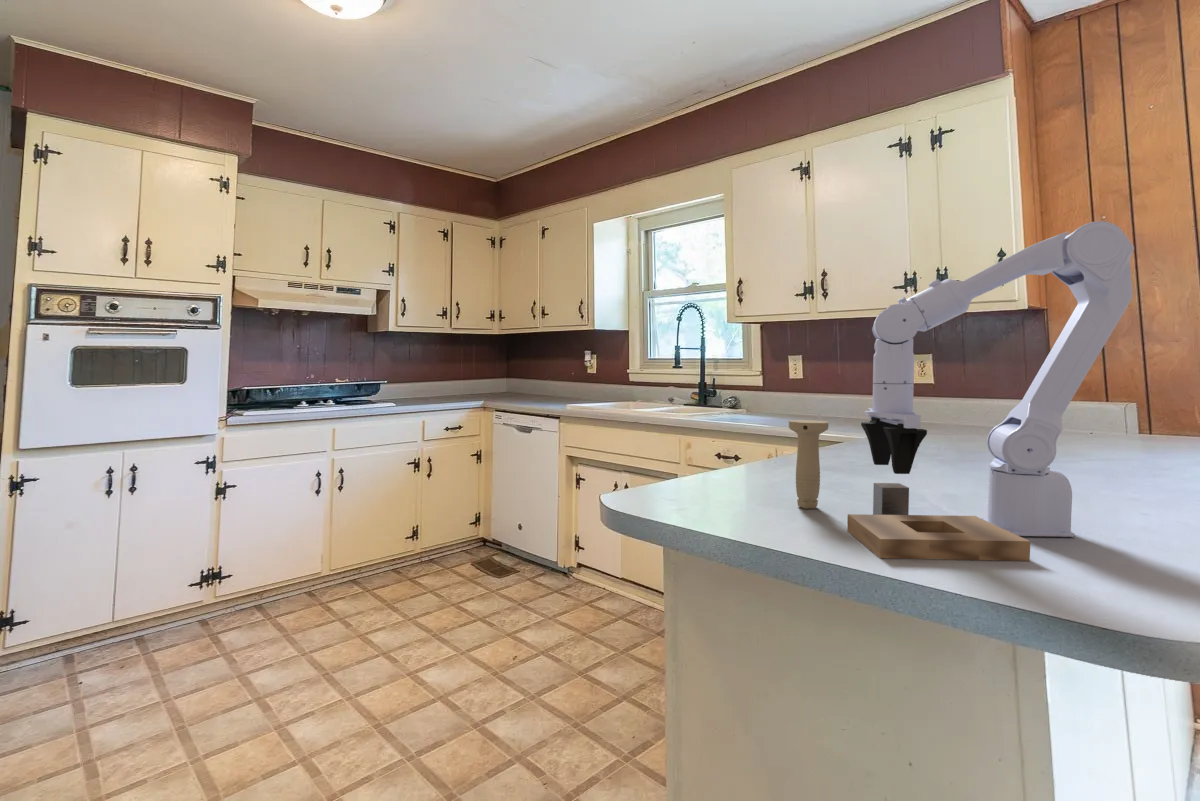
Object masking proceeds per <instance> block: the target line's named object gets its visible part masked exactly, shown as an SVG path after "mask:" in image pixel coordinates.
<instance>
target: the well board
mask: <svg viewBox="0 0 1200 801" xmlns="http://www.w3.org/2000/svg"><path fill="white" fill-rule="evenodd" d="M981 518H982V517H979V516H976V515H946V514H945V515H940V514H939V515H937V514H936V515H933V514H931V515H929V514H928V515H927V514H923V515H922V514H908V515H873V514H865V513H864V514H847V523H846V524H847V525H846V527H847V528H846V529H847V532H848V533H849V534H851V535H852V536H853V537H854V538H855V539H856V540H858V541H859V542H860V543H861V544H862V545H864V546H865V547H866V548H867V549H868V550H870V551H871V552H872V553H873V554H874V555H876V557H878V558H880V559H899V560H900V559H902V560H903V559H905V560H906V559H907V560H908V559H909V560H911V559H912V560H954V561H955V560H959V561H961V560H962V561H963V560H964V561H965V560H967V561H972V560H973V561H1006V562H1007V561H1009V562H1010V561H1014V562H1018V561H1019V562H1029V561H1031V541H1030V540H1028V539H1026V538H1024V537H1023V536H1018V535H1016V534H1013V533H1011V532H1009V531H1007V530H1005V529H1003V528H1000V527H998V526H996V525H994V524H992V523H990V522H987V521H985V520H983V519H981Z"/></svg>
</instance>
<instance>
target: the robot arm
mask: <svg viewBox="0 0 1200 801" xmlns="http://www.w3.org/2000/svg"><path fill="white" fill-rule="evenodd" d="M1134 250H1135V247H1134V245H1133V244H1132V242H1131V241H1130V239H1129V238H1128V236H1127V235H1126V233H1125V232H1124V231H1123V230H1122V228H1121V227H1119V226H1118V225H1116V224H1115V223H1112V222H1109V221H1105V220H1104V221H1103V220H1098V221H1092V222H1087V223H1085V224H1083V225H1081V226H1078V228H1076V229H1075V230H1074V231H1073V232H1070V231H1069V230H1068V231H1065V232H1062V233H1059V234H1057V235H1055V236H1052V237H1049V238H1046V239H1044V240H1041V241H1039V242H1035V243H1034V244H1031V245H1029V246H1027V247H1026V248H1024V249H1021V250H1019V251H1017V252H1016V253H1014V254H1012V255H1010V256H1008V257H1006V258H1004V259H1002V260H1001V261H999V262H997V263H995V264H993V265H991V266H989V267H987V268H985V269H983V270H981V271H979V272H977V273H976V274H974V275H971V276H970V277H968V278H966V279H964V280H956V279H952V278H946V279H944V280H942V281H940V279H935V280H934V281H931V282H930V283H929V284H928V286H929V287H928V288H926V289H924V290H922V291H920V292H918V293H916V294H914V295H912V296H909V297H908V298H906V297H902V298H899V299H898V300H897V303H895V304H890V305H888V307H887V308H885V309H883V310H882V311H881V312H880V313H879V314H878V315H877V316H876V318H875V320H874V322H873V326H872V328H871V331H872V334H873V336H874V338H875V342H874V347H873V348H874V351H875V352H874V354H873V363H872V364H873V365H872V366H873V368H872V370H873V371H872V407H868V408H867V409H868V410H864V415H865V416H867V419H868V420H869V421H864V422H863V421H862V422H861V424H860V426H861V428H862V430H863V431H864V433H865V435H866V437H867V438H866V439H867V440H868V444H869V447H870V448H869V449H870V452H871V457H872V462H873V465H876V466H888V465H889V463H890V462H891V467H892V471H893V474H895V475H909V474H910V472H911V470H912V466H913V464H914V460H915V458H916V454H917V451H918V450H919V449H918V448H919V447H920V445H921V444H922V442H923V440H924V439H925V438H926V436H927V434H928V430H927V429H924V428H921V421H922V420H921V415H920V414H917V413H916V412H915V411H914V392H915V391H914V386H915V385H914V383H915V382H914V381H915V380H914V379H915V353H914V337H915V336H916V335H917V333H918V332H926V331H929V330H931V329H933V328H935V327H937V326H940V325H941V324H944V323H946V322H948V321H951V320H953V319H954V318H956V317H959V316H960V315H963V314H964V313H966V312H967V311H968V310H969V307H970V304H971V303H972V300H973V299H975V298H977V297H979V296H981V295H984V294H986V293H987V292H991V291H993V290H995V289H997V288H999V287H1002V286H1004V285H1006V284H1008V283H1010V282H1012V281H1014V280H1017V279H1019V278H1022V277H1023V276H1027V275H1031V276H1032V275H1033V276H1034V275H1035V276H1045V275H1048V274H1050V273H1051V274H1052V275H1053V276H1055V277H1056V278H1057V279H1058V280H1059V281H1061V282H1062V283H1063V284H1065V285H1066V286H1067V287H1068V288H1069V290H1070V291H1071V293H1072V295H1073V296H1074V298H1075V300H1076V302H1077V305H1076V306H1075V308H1074V310H1073V311H1072V313H1071V315H1070V317H1069V318H1068V320H1067V322H1066V323H1065V326H1064V327H1063V329H1062V331H1061V332H1060V334H1059V335H1058V336H1057V338H1056V341H1055V342H1054V344H1053V346H1052V348H1051V350H1050V351H1049V353H1048V355H1047V356H1046V358H1045V360H1044V362H1043V363H1042V365H1041V367H1040V368H1039V370H1038V372H1037V373H1036V375H1035V377H1034V379H1033V380H1032V382H1031V384H1030V385H1029V387H1028V389H1027V390H1026V392H1025V394H1024V395H1023V398H1022V399H1021V401H1020V402H1019V403H1018V404H1016V406H1014V407H1013V408H1012V409H1011V410H1010V411H1009V413H1008V414H1007V416H1006V417H1005V419H1004V420H1003V421H1002V422H1001V423H999V424H997V425H996V426H994V427H993V428H992V429H991V430H990V432H988V435H987V438H986V446H987V449H988V451H989V453H990V454H991V455H992V456H993V457H994V458H993V460H992V461H991V462H990V463H989V465H988V488H987V489H988V490H987V491H988V492H987V493H988V494H987V495H988V496H987V517H980V518H981V519H983V520H985V521H987V522H990V523H992V524H994V525H996V526H998V527H1000V528H1003V529H1005V530H1007V531H1009V532H1011V533H1013V534H1016V535H1018V536H1020V537H1063V538H1064V537H1065V538H1066V537H1067V538H1068V537H1070V538H1071V537H1075V536H1076V535H1075V533H1074V532H1072V508H1073V489H1072V486H1071V483H1070V481H1069V478H1068V477H1067V476H1066V475H1065V474H1063V473H1062V472H1061V471H1056V470H1051V467H1049V466H1051V464H1052V463H1053V461H1054V460H1055V459H1056V456H1057V443H1058V441H1057V440H1058V438H1059V436H1060V434H1061V433H1062V431H1063V422H1062V421H1063V419H1062V417H1063V414H1064V413H1065V411H1066V410H1067V408H1068V406H1069V405H1070V403H1071V402H1072V401H1073V398H1074V396H1075V395H1076V393H1077V391H1078V390H1079V388H1080V387H1081V385H1082V383H1083V381H1084V380H1085V378H1086V377H1087V374H1088V373H1089V371H1090V370H1091V368H1092V367H1093V365H1094V363H1095V362H1096V360H1097V358H1098V357H1099V355H1100V353H1101V351H1102V350H1103V348H1104V346H1105V345H1106V343H1107V342H1108V340H1109V338H1110V336H1111V335H1112V333H1113V331H1115V328H1116V327H1117V325H1118V323H1119V322H1120V320H1121V318H1122V317H1123V314H1125V312H1126V310H1127V308H1128V306H1129V305H1130V303H1131V301H1132V299H1133V285H1132V284H1133V282H1132V271H1131V270H1132V268H1131V259H1132V255H1133V252H1134Z"/></svg>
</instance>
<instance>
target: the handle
mask: <svg viewBox="0 0 1200 801" xmlns="http://www.w3.org/2000/svg"><path fill="white" fill-rule="evenodd" d="M788 428H789V429H790V431H792V432H794V433H796V434H797V453H796V465H795V466H796V467H795V491H796V495H797V496H796V497H797V498H798V499H797V500H796V501H797V502H796V503H797V507H799V508H802V509H805V510H808V509H809V510H810V509H811V510H812V509H813V510H814V509H817V507H818V504H819V500H818V499H819V495H820V494H819V493H820V489H821V488H820V487H821V467H820V466H821V465H820V449H819V448H820V446H819V445H820V444H819V442H820V441H819V440H820V435H821V434H823V433H825V432H826V431H828V429H829V421H825V420H815V419H813V420H812V419H810V420H809V419H793V420H792V419H791V420H788Z"/></svg>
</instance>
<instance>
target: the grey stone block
mask: <svg viewBox="0 0 1200 801" xmlns="http://www.w3.org/2000/svg"><path fill="white" fill-rule="evenodd" d="M872 491H873V494H872V495H873V496H872V497H873V498H872V499H873V501H872V515H910V514H909V510H910V509H909V508H910V507H909V505H910V487H908V486H906V485H905V484H903V483H899V482H892V483H891V482H874V483H873V490H872Z"/></svg>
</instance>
